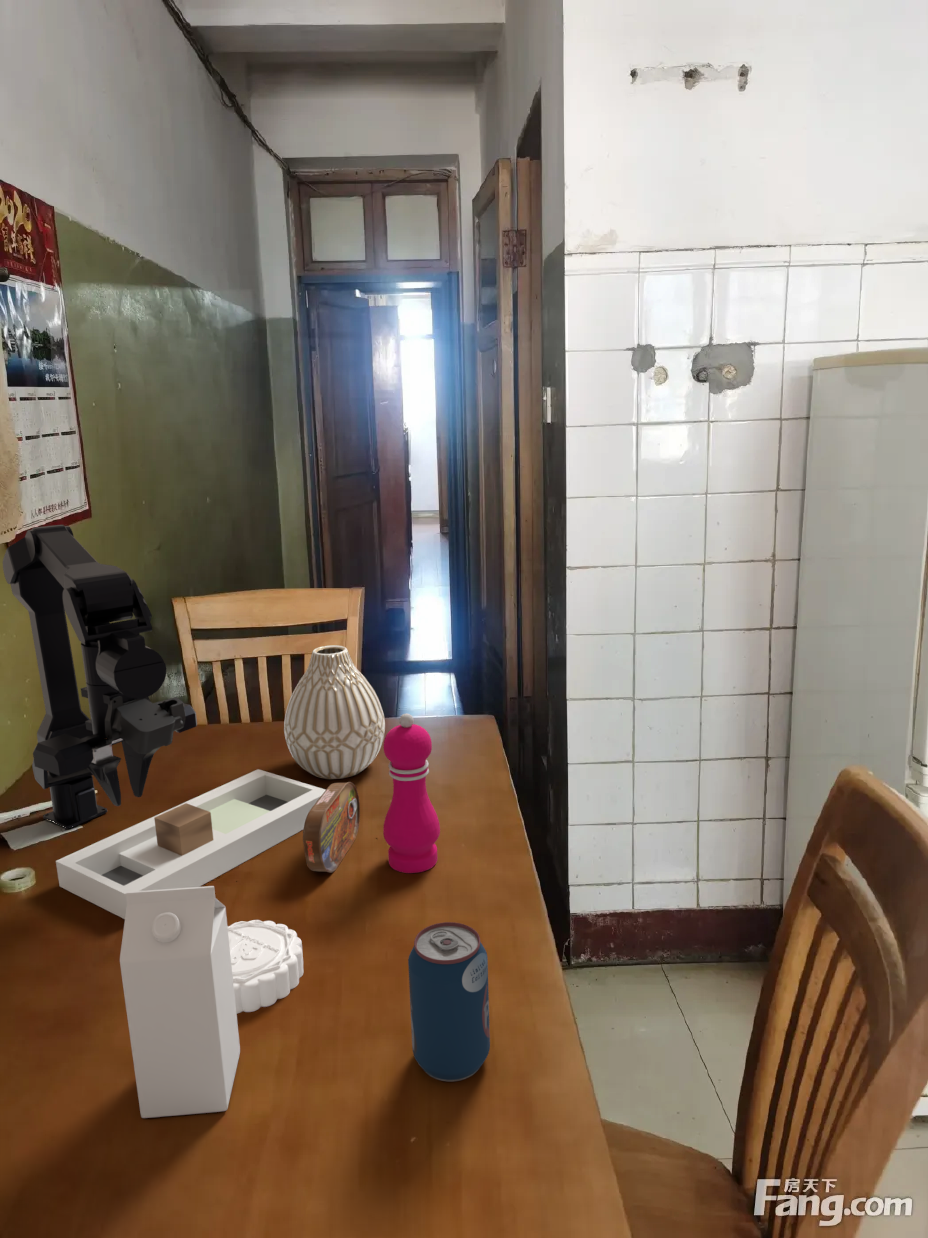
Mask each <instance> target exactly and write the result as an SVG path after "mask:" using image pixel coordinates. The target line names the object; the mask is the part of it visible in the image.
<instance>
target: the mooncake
mask: <svg viewBox="0 0 928 1238" xmlns="http://www.w3.org/2000/svg"><path fill="white" fill-rule="evenodd" d="M227 927H228V937H229V947H230V956H231V966H232V976H233V985H234V995H235V1005H236V1014H240V1013H242V1012H245V1013H251V1012H255V1011H257V1010H259V1009H260V1008H262V1007H263V1008H266V1007H270V1006H272V1005H274V1004H275V1003H276V1002H277V1000H280V999H283V998H286V997H287V996H289V994H290V992H291V990H293V989H294V988H297V986H298V985H299V983H300V978H301V977H302V976H303V975H304V957H303V956H304V955H303V944H302V943H303V942H302V940H301V938H300V937H298V933H297V932H296V931H295V930H294V929H291V928H289V927H288V926H287V925H286V924H283V923H277V924H276V922H275V921H273V920H264V921H262V920H260V919H253V920H249V921H243V920H241V921H238V922H237V921H236V922H234V923H232V924H230V925H227Z"/></svg>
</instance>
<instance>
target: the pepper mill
mask: <svg viewBox="0 0 928 1238" xmlns="http://www.w3.org/2000/svg"><path fill="white" fill-rule="evenodd" d="M398 722H399V724H398V725H395V726H394V727H393V728H391V729H390V730H389V731H388V732H387V733H386V735H385V736H384V739H383V753H384V756H385V757H386V758H387V760H388V761H389V763H388V768H389V771H388V775H389V777H391V778H392V783H393V784H392V785H393V786H392V787H393V789H392V790H393V791H392V792H393V793H392V796H391V797H392V798H391V801H390V805H389V808H388V809H387V812H386V814H385V816H384V821H383V830H382V833H383V838H384V840H385V843H386V844H387V845H389V848H388V850H387V851H388V852H387V853H388V865H389V866H390V867H391V869H393V870H394V871H396V872H400V873H405V874H416V873H417V874H418V873H423V872H425V871H428V870H431V869H432V868H433V867H435V865H436V864H437V862H438V847H437V844H436V842H437V841H438V839H439V837H440V834H441V826H440V825H441V824H440V821H439V816H438V814H437V812H436V810H435V807H434V805H433V804H432V802H431V800H430V797H429V795H428V790H427V784H426V781H427V778H426V777H427V776H428V775H429V773H430V769H429V765H430V764H429V761H428V760H427V759H428V757H430V755H431V754H432V750H433V745H432V744H433V743H432V739H431V736H430V734H429V732H428V731H427V730H426V729H425V728H424V727H422V726H421V725H419V724H414V717H413V715H411V714H410V713H403V714H401V716H400V717H399V721H398Z"/></svg>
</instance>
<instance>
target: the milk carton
mask: <svg viewBox="0 0 928 1238" xmlns="http://www.w3.org/2000/svg"><path fill="white" fill-rule="evenodd" d="M215 893H216V891H215V886H214V885H208V886H200V887H190V888H176V889H161V890H147V891H132V892H126V901H127V908H126V916H125V919H124V924H123V933H122V937H121V938H122V941H121V946H120V954H119V964H120V965H119V966H120V973H121V980H122V987H123V994H124V995H123V996H124V1003H125V1010H126V1015H127V1016H126V1017H127V1023H128V1024H127V1025H128V1031H129V1039H130V1047H131V1055H132V1060H133V1070H134V1076H135V1082H136V1083H135V1084H136V1092H137V1097H138V1099H137V1100H138V1103H139V1104H138V1105H139V1111H140V1112H139V1113H140V1117H141V1118H142V1119H148V1118H160V1117H172V1116H185V1115H195V1114H196V1115H197V1114H206V1113H207V1114H208V1113H217V1112H218V1113H219V1112H225V1111H227V1110H228V1108H229V1103H230V1098H231V1095H232V1090H233V1085H234V1081H235V1076H236V1073H237V1068H238V1063H239V1058H240V1053H241V1045H240V1043H241V1042H240V1035H239V1026H238V1024H239V1023H238V1015H237V1014H236V1005H235V995H234V985H233V976H232V966H231V956H230V947H229V937H228V927H227V926H228V918H227V908H226V906H225V904H224V903H222V902H221V901H220V900H218V898H216V894H215Z"/></svg>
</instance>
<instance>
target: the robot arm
mask: <svg viewBox="0 0 928 1238" xmlns="http://www.w3.org/2000/svg"><path fill="white" fill-rule="evenodd" d="M2 571H3V574H4V578H5V581H6V583H7V584H8V585H10V590H11V593H12V595H13V596H14V597H15V599H16V600H17V601H18V602H19V603H21V605H22V606H23V607H24V608H25V609H26V610H27V612H28V616H29V621H30V627H31V633H32V640H33V643H34V644H33V645H34V651H35V657H36V662H37V668H38V675H39V680H40V685H41V691H42V697H43V703H44V709H45V714H44V717H43V719H42V721H41V723H40V725H39V727H38V730H37V731H36V739H37V743H36V745H35V747H34V749H33V751H32V757H33V759H32V764H31V765H32V771H33V772H32V773H33V775H34V776H33V777H34V779H35V780H34V781H36V782H37V783H38V784H39V786H40V787H41V788H42V789H43V790H46V789H48V788H49V792H50V798H51V799H50V800H51V806H52V811H50V812H48V813H45V814H44V815H43V819H44V820H46V819H48V820H51V821H54V822H55V823H57V824H59V825H61V826H60V827H62V826H64V827H66V828H65V829H67V828H68V829H71V827H72V826H74V827H76V826H79V825H81V824H84V823H85V822H87V821H90V820H92V819H94V818H97V817H100V816H101V815H104V814H106V813H108V808H107V807H104V806H102V805H99V804H97V795H96V790H95V784H94V779H93V778H95V779H96V781H97V783H98V784H99V785H100V787H101V789H102V790H103V791H104V793H105V794H106V796H107V797H108V799H109V800H110V802H111V803H112V805H114V806H115V807H121V805H122V793H121V787H120V780H119V773H118V766H119V764H120V762H121V760H122V758H121V757H120V756H117V755H114V753H113V746H114V745H117V744H119V743H121V745H122V751H123V754H124V760H125V765H126V769H127V774H128V779H129V783H130V787H131V790H132V794H133V795H134V797H137V798H140V797H142V796H143V793H144V790H145V785H146V781H147V778H148V774H149V769H150V765H151V763H152V761H153V757H154V754H155V753H156V752H157V751H159V750H160V749H161V747H164V746H165V747H167V746H170V745H171V744H172V743H173V738H174V733H175V732H176V733H179V734H180V733H183V732H186V731H189V730H191V729H194V728H196V727H197V726H198V720H197V712H196V710H195V709H194V707H193V706H192V705H190V704H187V703H184V702H183V700H181V699H179V697H177V696H174V697H172V698H167V699H164V700H159V701H156V702H152V701H151V700H150V699H151V698H150V697H151V696H153V695H154V694H155V693H156V692H158V691H159V690H160V688H161V687H162V686H163V684H164V682H165V680H166V677H167V663H166V662H165V661H164V659H163V657H162V656H161V655H160V653H158V651H156V650H155V649H153V648H150V647H148V646H147V645H146V641H145V640H146V638H145V636H143V635H141V634H142V633H148V632H152V631H153V626H152V625H153V624H152V622H151V621H152V617H153V614H152V613H151V610H150V608H149V606H148V604H147V602H146V600H145V598H144V597H145V596H144V595H143V593H142V591H141V589H140V587H138V584H137V582H136V580H135V579H133V578H131V576H130V575H129V574H128V573H127V572H126V571H125V570H124V569H122V568H120V567H118V566H117V565H111V564H103V563H100V562H98V561H97V560H96V559H95V558H94V557H93V556H92V555H91V553H89V552H88V550H87V549H85V547H84V546H83V545H82V544H81V543H80V542H79V541H78V540H77V539H76V538H75V537H74V532H73V530H72V528H71V526H69V525H65V524H57V525H56V524H55V525H46V526H38V527H33V528H32V529H27V531H26V532H25V536H24V537H23V538H21V539H19V540H18V541H16V542H15V543H13V544H11V545H10V546H8V547H7V548H6V550H5V553H4V556H3V559H2ZM67 619H68V620H69V622H70V624H71V627H72V630H73V632H74V633H75V635H76V637H77V640H78V641H79V642H80V648H81V655H82V663H83V670H84V678H85V684H86V685H85V687H81V688H80V694H81V697H82V698H86V699H87V700H88V707H89V708H88V709H89V714H90V715H89V716H90V717H88V715H86V714H85V713H84V711H83V710H82V707H81V706H82V705H81V701H80V694H79V690H78V689H79V688H78V682H77V677H76V670H75V664H74V657H73V652H72V651H73V650H72V646H71V640H70V634H69V628H68V622H67ZM93 776H94V777H93ZM48 820H47V821H48ZM55 823H54V824H55ZM57 824H56V825H57ZM59 825H58V826H59ZM64 827H63V828H64ZM72 828H73V827H72Z"/></svg>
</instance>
